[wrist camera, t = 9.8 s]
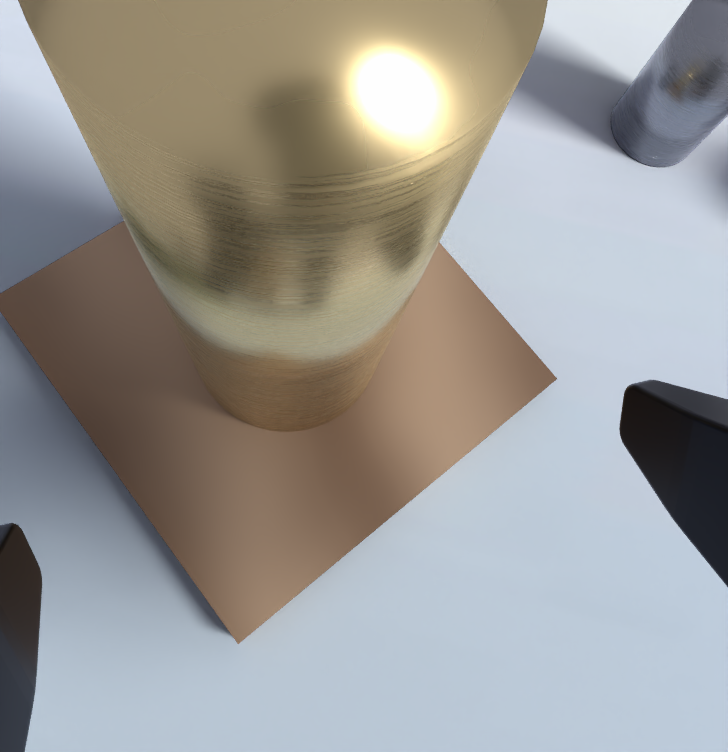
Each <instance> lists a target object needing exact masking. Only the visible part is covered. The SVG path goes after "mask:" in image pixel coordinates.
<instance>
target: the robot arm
mask: <svg viewBox="0 0 728 752" xmlns="http://www.w3.org/2000/svg"><path fill="white" fill-rule="evenodd" d="M620 436H621V439H622V442H623V444H624V445H625V447H626V449H627V450H628V452H629V453H630V455H631V456H632V458H633V459H634V461H635V462H636V464H637V465H638V467H639V468H640V470H641V471H642V473H643V475H644V476H645V478H646V479H647V481H648V482H649V484H650V485H651V487H652V488H653V490H654V491H655V493H656V494H657V496H658V497H659V499H660V501H661V502H662V504H663V505H664V507H665V508H666V510H667V511H668V512H669V514H670V515H671V517H672V518H673V520H674V521H675V522H676V523H677V525H678V526H679V527H680V529H681V530H682V531H683V533H684V534H685V535H686V536H687V537H688V539H689V540H690V541H691V542H692V544H693V545H694V546H695V547H696V549H697V550H698V551H699V552H700V553H701V555H702V556H703V557H704V558H705V560H706V561H707V562H708V563H709V565H710V566H711V567H712V568H713V569H714V571H715V572H716V573H717V574H718V576H719V577H720V578H721V579H722V581H723V582H724V583H725V584H726V586H727V587H728V399H724V398H720V397H716V396H713V395H709V394H705V393H702V392H698V391H694V390H690V389H687V388H683V387H679V386H676V385H672V384H668V383H665V382H661V381H657V380H648V381H643V382H639V383H634V384H631V385H629V386H628V387H627V388H626V390H625V393H624V398H623V406H622V413H621V420H620ZM41 594H42V576H41V571H40V567H39V565H38V563H37V561H36V558H35V556H34V554H33V552H32V550H31V548H30V546H29V544H28V542H27V539H26V537H25V535H24V533H23V531H22V529H21V528H20V527H19V526H18V525H16V524H14V523H9V524H4V525H0V752H25V746H26V741H27V735H28V730H29V725H30V719H31V714H32V708H33V701H34V695H35V687H36V676H37V661H38V644H39V628H40V611H41Z"/></svg>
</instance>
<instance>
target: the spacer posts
mask: <svg viewBox="0 0 728 752" xmlns="http://www.w3.org/2000/svg"><path fill="white" fill-rule="evenodd" d="M727 116H728V0H692V2H691V3H690V4H689V6H688V7H687V8H686V10H685V11H684V13H683V14H682V15H681V17H680V18H679V19H678V21H677V22H676V23H675V25H674V26H673V28H672V29H671V30H670V32H669V33H668V34H667V36H666V37H665V39H664V40H663V41H662V43H661V44H660V45H659V47H658V48H657V49H656V51H655V52H654V54H653V55H652V56H651V58H650V59H649V60H648V62H647V63H646V65H645V66H644V67H643V69H642V70H641V71H640V73H639V74H638V75H637V77H636V78H635V80H634V81H633V82H632V84H631V85H630V86H629V88H628V89H627V91H626V92H625V93H624V95H623V96H622V97H621V99H620V100H619V101H618V103H617V104H616V106H615V107H614V109H613V112H612V116H611V128H612V132H613V135H614V137H615V139H616V141H617V143H618V144H619V145H620V147H621V148H622V149H623V150H624V151H625V152H626V153H627V154H628V155H629V156H631V157H632V158H634V159H635V160H637V161H639V162H641V163H643V164H646V165H650V166H655V167H667V166H672V165H675V164H677V163H679V162H681V161H682V160H684V159H685V158H686V157H687V156H688V155H689V154H690V153H691V152H692V151H693V150H694V149H695V148H696V147H697V146H698V145H699V144H700V143H701V142H702V141H703V140H704V139H705V138H706V137H707V136H708V135H709V134H710V133H711V132H712V131H713V130H714V129H715V128H716V127H717V126H718V125H719V124H720V123H721V122H722V121H723V120H724V119H725V118H726V117H727Z"/></svg>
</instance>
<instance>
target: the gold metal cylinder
mask: <svg viewBox="0 0 728 752" xmlns="http://www.w3.org/2000/svg"><path fill="white" fill-rule="evenodd" d="M18 1H19V3H20V6H21V8H22V11H23V13H24V16H25V18H26V21H27V23H28V25H29V27H30V29H31V31H32V33H33V35H34V37H35V39H36V41H37V43H38V45H39V47H40V50H41V52H42V54H43V56H44V58H45V60H46V62H47V64H48V66H49V68H50V70H51V72H52V74H53V76H54V78H55V80H56V82H57V84H58V86H59V88H60V90H61V93H62V95H63V97H64V99H65V101H66V103H67V105H68V107H69V109H70V111H71V113H72V115H73V117H74V119H75V121H76V123H77V125H78V127H79V129H80V131H81V133H82V135H83V138H84V140H85V142H86V144H87V146H88V148H89V150H90V152H91V154H92V156H93V158H94V160H95V162H96V164H97V166H98V168H99V170H100V172H101V174H102V176H103V178H104V181H105V183H106V185H107V187H108V189H109V191H110V193H111V195H112V197H113V199H114V201H115V203H116V205H117V207H118V209H119V211H120V213H121V215H122V217H123V219H124V221H125V223H126V226H127V228H128V230H129V232H130V234H131V236H132V238H133V240H134V242H135V244H136V246H137V248H138V250H139V252H140V254H141V256H142V258H143V260H144V262H145V264H146V266H147V269H148V271H149V273H150V275H151V277H152V279H153V281H154V283H155V285H156V287H157V289H158V291H159V293H160V295H161V297H162V299H163V301H164V303H165V305H166V307H167V309H168V311H169V314H170V316H171V318H172V320H173V322H174V324H175V326H176V328H177V330H178V332H179V334H180V336H181V338H182V340H183V342H184V344H185V346H186V348H187V350H188V352H189V354H190V357H191V359H192V361H193V363H194V365H195V367H196V369H197V371H198V373H199V375H200V377H201V379H202V381H203V383H204V385H205V386H206V388H207V390H208V391H209V393H210V394H211V395H212V397H213V398H214V399H215V400H216V402H218V403H219V404H220V405H221V406H222V407H223V408H224V409H225V410H226V411H227V412H229V413H230V414H232V415H233V416H234V417H236V418H238V419H240V420H241V421H243V422H245V423H247V424H250V425H252V426H255V427H258V428H262V429H266V430H271V431H280V432H295V431H301V430H307V429H311V428H315V427H318V426H321V425H323V424H325V423H328V422H330V421H332V420H333V419H335V418H337V417H338V416H340V415H341V414H343V413H344V412H345V411H346V410H348V409H349V408H350V407H351V406H352V405H353V404H354V403H355V402H356V401H357V400H358V399H359V397H360V396H361V395H362V393H363V392H364V390H365V389H366V387H367V385H368V383H369V381H370V379H371V377H372V375H373V373H374V371H375V369H376V367H377V365H378V363H379V361H380V359H381V357H382V355H383V353H384V351H385V349H386V347H387V345H388V343H389V341H390V339H391V337H392V335H393V333H394V331H395V329H396V327H397V325H398V323H399V321H400V319H401V317H402V315H403V313H404V311H405V309H406V307H407V305H408V303H409V301H410V299H411V297H412V295H413V293H414V291H415V289H416V287H417V285H418V283H419V281H420V279H421V277H422V275H423V273H424V271H425V269H426V267H427V265H428V263H429V261H430V259H431V257H432V255H433V253H434V251H435V249H436V247H437V245H438V243H439V241H440V239H441V237H442V235H443V233H444V231H445V229H446V227H447V225H448V223H449V221H450V219H451V217H452V215H453V213H454V211H455V209H456V207H457V205H458V203H459V201H460V199H461V197H462V195H463V193H464V191H465V189H466V187H467V185H468V183H469V181H470V179H471V177H472V175H473V173H474V171H475V169H476V167H477V165H478V163H479V161H480V159H481V157H482V155H483V153H484V151H485V149H486V147H487V145H488V143H489V141H490V139H491V137H492V135H493V133H494V131H495V129H496V127H497V125H498V122H499V120H500V118H501V116H502V114H503V112H504V110H505V108H506V106H507V104H508V102H509V100H510V98H511V96H512V94H513V92H514V90H515V88H516V86H517V84H518V82H519V80H520V78H521V76H522V74H523V72H524V70H525V68H526V66H527V64H528V62H529V60H530V58H531V56H532V54H533V52H534V50H535V47H536V44H537V41H538V39H539V36H540V33H541V30H542V27H543V23H544V18H545V12H546V7H547V1H548V0H18Z"/></svg>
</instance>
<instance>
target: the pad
mask: <svg viewBox="0 0 728 752" xmlns="http://www.w3.org/2000/svg"><path fill="white" fill-rule="evenodd" d="M0 312H1V313H2V315H3V316H4V317H5V319H6V320H7V322H8V323H9V324H10V326H11V327H12V329H13V330H14V331H15V333H16V334H17V336H18V337H19V338H20V340H21V341H22V343H23V344H24V345H25V347H26V348H27V350H28V351H29V352H30V354H31V355H32V357H33V358H34V359H35V361H36V362H37V364H38V365H39V366H40V368H41V369H42V371H43V372H44V373H45V375H46V376H47V378H48V379H49V380H50V382H51V383H52V385H53V386H54V387H55V389H56V390H57V392H58V393H59V394H60V396H61V397H62V398H63V400H64V401H65V403H66V404H67V405H68V407H69V408H70V410H71V411H72V412H73V414H74V415H75V417H76V418H77V419H78V421H79V422H80V424H81V425H82V426H83V428H84V429H85V431H86V432H87V433H88V435H89V436H90V438H91V439H92V440H93V442H94V443H95V445H96V446H97V447H98V449H99V450H100V452H101V453H102V454H103V456H104V457H105V459H106V460H107V461H108V463H109V464H110V466H111V467H112V468H113V470H114V471H115V473H116V474H117V475H118V477H119V478H120V480H121V481H122V482H123V484H124V485H125V487H126V488H127V489H128V491H129V492H130V494H131V495H132V496H133V498H134V499H135V501H136V502H137V503H138V505H139V506H140V508H141V509H142V510H143V512H144V513H145V515H146V516H147V517H148V519H149V520H150V522H151V523H152V524H153V526H154V527H155V529H156V530H157V531H158V533H159V534H160V535H161V537H162V538H163V540H164V541H165V542H166V544H167V545H168V547H169V548H170V549H171V551H172V552H173V554H174V555H175V556H176V558H177V559H178V561H179V562H180V563H181V565H182V566H183V568H184V569H185V570H186V572H187V573H188V575H189V576H190V577H191V579H192V580H193V582H194V583H195V584H196V586H197V587H198V589H199V590H200V591H201V593H202V594H203V596H204V597H205V598H206V600H207V601H208V603H209V604H210V605H211V607H212V608H213V610H214V611H215V612H216V614H217V615H218V617H219V618H220V619H221V621H222V622H223V624H224V625H225V626H226V628H227V629H228V631H229V632H230V633H231V635H232V636H233V638H234V639H235V640H236V642H237V643H238V644H239V643H240V642H241V641H242V640H244V639H245V638H246V637H247V636H248V635H250V634H251V633H252V632H253V631H254V630H256V629H257V628H258V627H259V626H260V625H262V624H263V623H264V622H265V621H267V620H268V619H269V618H270V617H271V616H273V615H274V614H275V613H276V612H277V611H279V610H280V609H281V608H282V607H283V606H285V605H286V604H287V603H288V602H289V601H291V600H292V599H293V598H294V597H295V596H297V595H298V594H299V593H300V592H301V591H303V590H304V589H305V588H306V587H307V586H309V585H310V584H311V583H312V582H313V581H315V580H316V579H317V578H318V577H319V576H321V575H322V574H323V573H324V572H325V571H327V570H328V569H329V568H330V567H331V566H333V565H334V564H335V563H336V562H337V561H339V560H340V559H341V558H342V557H343V556H345V555H346V554H347V553H348V552H349V551H351V550H352V549H353V548H354V547H355V546H357V545H358V544H359V543H360V542H362V541H363V540H364V539H365V538H366V537H368V536H369V535H370V534H371V533H372V532H374V531H375V530H376V529H377V528H378V527H380V526H381V525H382V524H383V523H384V522H386V521H387V520H388V519H389V518H390V517H392V516H393V515H394V514H395V513H396V512H398V511H399V510H400V509H401V508H402V507H404V506H405V505H406V504H407V503H408V502H410V501H411V500H412V499H413V498H414V497H416V496H417V495H418V494H419V493H420V492H422V491H423V490H424V489H425V488H426V487H428V486H429V485H430V484H431V483H432V482H434V481H435V480H436V479H437V478H438V477H440V476H441V475H442V474H443V473H444V472H446V471H447V470H448V469H449V468H450V467H452V466H453V465H454V464H455V463H456V462H458V461H459V460H460V459H461V458H463V457H464V456H465V455H466V454H467V453H469V452H470V451H471V450H472V449H473V448H475V447H476V446H477V445H478V444H479V443H481V442H482V441H483V440H484V439H485V438H487V437H488V436H489V435H490V434H491V433H493V432H494V431H495V430H496V429H497V428H499V427H500V426H501V425H502V424H503V423H505V422H506V421H507V420H508V419H509V418H511V417H512V416H513V415H514V414H515V413H517V412H518V411H519V410H520V409H521V408H523V407H524V406H525V405H526V404H527V403H529V402H530V401H531V400H532V399H533V398H535V397H536V396H537V395H538V394H539V393H541V392H542V391H543V390H544V389H545V388H547V387H548V386H549V385H550V384H551V383H553V382H554V381H555V380H556V379H557V378H556V377H555V376H554V375H553V373H552V372H551V371H550V370H549V369H548V368H547V367H546V365H545V364H544V363H543V362H542V361H541V360H540V358H539V357H538V356H537V355H536V354H535V353H534V351H533V350H532V349H531V348H530V347H529V346H528V345H527V343H526V342H525V341H524V340H523V339H522V338H521V336H520V335H519V334H518V333H517V332H516V331H515V329H514V328H513V327H512V326H511V325H510V324H509V322H508V321H507V320H506V319H505V318H504V317H503V316H502V314H501V313H500V312H499V311H498V310H497V309H496V307H495V306H494V305H493V304H492V303H491V302H490V300H489V299H488V298H487V297H486V296H485V295H484V294H483V292H482V291H481V290H480V289H479V288H478V287H477V285H476V284H475V283H474V282H473V281H472V280H471V278H470V277H469V276H468V275H467V274H466V273H465V272H464V270H463V269H462V268H461V267H460V266H459V265H458V263H457V262H456V261H455V260H454V259H453V258H452V256H451V255H450V254H449V253H448V252H447V251H446V249H445V248H444V247H443V246H442V245H441V244H440V243H438V245H437V247H436V249H435V251H434V253H433V255H432V257H431V259H430V261H429V263H428V265H427V267H426V269H425V271H424V273H423V275H422V277H421V279H420V281H419V283H418V285H417V287H416V289H415V291H414V293H413V295H412V297H411V299H410V301H409V303H408V305H407V307H406V309H405V311H404V313H403V315H402V317H401V319H400V321H399V323H398V325H397V327H396V329H395V331H394V333H393V335H392V337H391V339H390V341H389V343H388V345H387V347H386V349H385V351H384V353H383V355H382V357H381V359H380V361H379V363H378V365H377V367H376V369H375V371H374V373H373V375H372V377H371V379H370V381H369V383H368V385H367V387H366V389H365V390H364V392H363V393H362V395H361V396H360V397H359V399H358V400H357V401H356V402H355V403H354V404H353V405H352V406H351V407H350V408H349V409H348V410H346V411H345V412H344V413H343V414H341V415H340V416H338V417H337V418H335V419H333V420H332V421H330V422H328V423H325V424H323V425H321V426H318V427H315V428H311V429H307V430H301V431H295V432H280V431H271V430H266V429H262V428H258V427H255V426H252V425H250V424H247V423H245V422H243V421H241V420H240V419H238V418H236V417H234V416H233V415H232V414H230V413H229V412H227V411H226V410H225V409H224V408H223V407H222V406H221V405H220V404H219V403H218V402H216V400H215V399H214V398H213V397H212V395H211V394H210V393H209V391H208V390H207V388H206V386H205V385H204V383H203V381H202V379H201V377H200V375H199V373H198V371H197V369H196V367H195V365H194V363H193V361H192V359H191V357H190V354H189V352H188V350H187V348H186V346H185V344H184V342H183V340H182V338H181V336H180V334H179V332H178V330H177V328H176V326H175V324H174V322H173V320H172V318H171V316H170V314H169V311H168V309H167V307H166V305H165V303H164V301H163V299H162V297H161V295H160V293H159V291H158V289H157V287H156V285H155V283H154V281H153V279H152V277H151V275H150V273H149V271H148V269H147V266H146V264H145V262H144V260H143V258H142V256H141V254H140V252H139V250H138V248H137V246H136V244H135V242H134V240H133V238H132V236H131V234H130V232H129V230H128V228H127V226H126V223H125V221H123V222H121V223H119V224H117V225H116V226H114V227H112V228H111V229H109V230H107V231H106V232H104V233H102V234H101V235H99V236H97V237H95V238H94V239H92V240H90V241H89V242H87V243H85V244H84V245H82V246H80V247H78V248H77V249H75V250H73V251H72V252H70V253H68V254H67V255H65V256H63V257H62V258H60V259H58V260H56V261H55V262H53V263H51V264H50V265H48V266H46V267H45V268H43V269H41V270H39V271H38V272H36V273H34V274H33V275H31V276H29V277H28V278H26V279H24V280H23V281H21V282H19V283H17V284H16V285H14V286H12V287H11V288H9V289H7V290H6V291H4V292H2V293H0Z"/></svg>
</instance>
